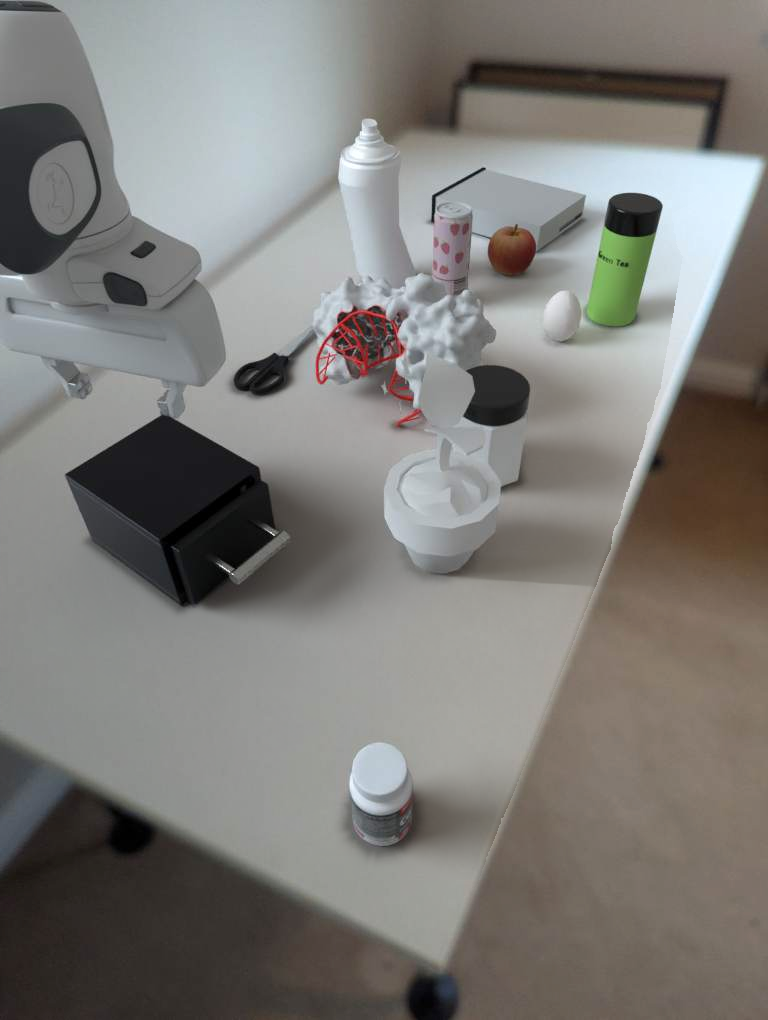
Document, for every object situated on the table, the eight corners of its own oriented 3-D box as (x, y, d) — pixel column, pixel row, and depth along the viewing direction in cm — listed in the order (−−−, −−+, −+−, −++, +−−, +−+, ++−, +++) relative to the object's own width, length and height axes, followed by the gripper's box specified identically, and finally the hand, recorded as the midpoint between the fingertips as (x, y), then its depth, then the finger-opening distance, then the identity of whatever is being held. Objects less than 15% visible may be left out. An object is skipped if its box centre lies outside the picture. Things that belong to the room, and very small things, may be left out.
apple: (517, 256, 128) (522, 211, 122) (542, 276, 122) (549, 229, 117) (476, 266, 125) (480, 219, 120) (500, 286, 120) (505, 239, 115)
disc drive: (480, 192, 148) (482, 166, 145) (582, 219, 138) (586, 192, 135) (430, 221, 138) (431, 195, 135) (536, 253, 128) (539, 225, 125)
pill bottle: (412, 847, 57) (414, 800, 51) (351, 847, 57) (346, 800, 51) (411, 788, 60) (413, 737, 54) (353, 787, 60) (349, 737, 54)
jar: (450, 442, 92) (455, 361, 83) (515, 445, 91) (527, 363, 83) (449, 491, 85) (455, 408, 77) (520, 494, 85) (533, 411, 76)
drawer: (310, 558, 77) (304, 504, 71) (229, 630, 71) (215, 577, 65) (193, 485, 85) (179, 432, 80) (110, 543, 79) (89, 490, 73)
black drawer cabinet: (271, 533, 81) (259, 467, 74) (181, 606, 74) (159, 540, 67) (182, 478, 88) (164, 412, 81) (92, 540, 80) (64, 474, 74)
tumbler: (639, 327, 111) (671, 213, 98) (590, 328, 111) (615, 213, 98) (627, 303, 116) (656, 191, 104) (580, 303, 116) (603, 191, 104)
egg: (574, 330, 110) (584, 283, 105) (578, 349, 106) (587, 301, 101) (538, 329, 111) (546, 281, 105) (540, 348, 107) (548, 300, 102)
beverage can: (437, 291, 119) (441, 198, 109) (470, 297, 118) (478, 203, 107) (425, 308, 115) (428, 213, 105) (460, 314, 114) (467, 219, 103)
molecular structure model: (348, 478, 98) (514, 415, 84) (258, 377, 89) (428, 286, 75) (381, 389, 111) (529, 321, 98) (305, 292, 102) (457, 202, 88)
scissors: (300, 317, 113) (226, 386, 101) (299, 312, 113) (224, 381, 100) (338, 327, 111) (267, 399, 99) (338, 322, 111) (266, 393, 98)
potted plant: (380, 517, 82) (375, 319, 65) (483, 511, 83) (506, 312, 65) (389, 607, 73) (386, 404, 56) (504, 599, 74) (537, 396, 56)
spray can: (369, 309, 115) (364, 140, 98) (335, 282, 122) (324, 119, 104) (429, 289, 120) (434, 123, 102) (393, 264, 126) (392, 104, 109)
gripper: (-63, 254, 55) (5, 403, 65) (176, 292, 51) (211, 447, 60) (-7, 220, 60) (49, 365, 69) (219, 253, 55) (245, 403, 65)
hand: (126, 403), depth 65 cm, fingers open, 8 cm apart
